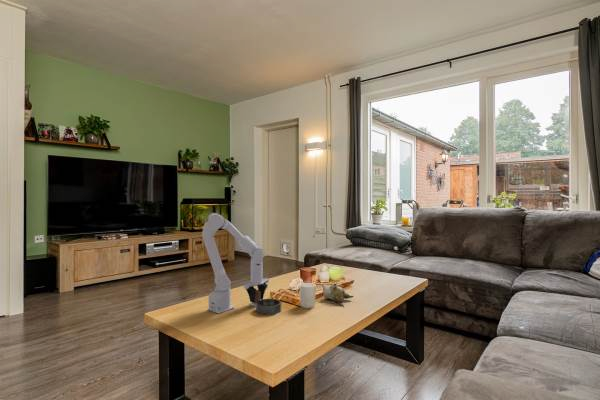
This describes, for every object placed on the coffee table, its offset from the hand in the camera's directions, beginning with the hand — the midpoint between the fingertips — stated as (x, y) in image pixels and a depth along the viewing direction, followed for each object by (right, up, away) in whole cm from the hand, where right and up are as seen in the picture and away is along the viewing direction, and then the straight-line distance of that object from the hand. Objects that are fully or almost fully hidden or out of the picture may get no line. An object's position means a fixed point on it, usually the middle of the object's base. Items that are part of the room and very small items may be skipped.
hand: (256, 300), depth 158 cm
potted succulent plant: (+39, -2, +6) cm, 39 cm away
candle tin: (+7, -2, -8) cm, 10 cm away
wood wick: (0, -2, 0) cm, 2 cm away
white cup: (+24, -2, -1) cm, 25 cm away
